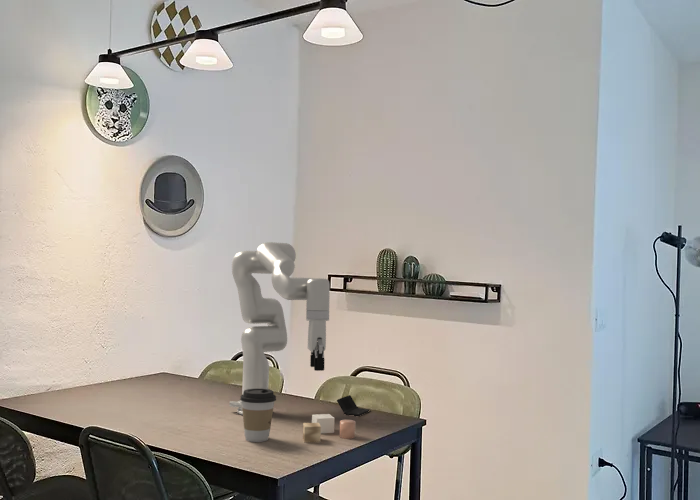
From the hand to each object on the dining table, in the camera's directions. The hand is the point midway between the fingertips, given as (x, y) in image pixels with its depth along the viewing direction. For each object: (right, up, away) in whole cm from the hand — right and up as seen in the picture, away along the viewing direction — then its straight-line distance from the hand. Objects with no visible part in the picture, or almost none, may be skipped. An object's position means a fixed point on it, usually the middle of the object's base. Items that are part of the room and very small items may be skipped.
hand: (317, 368), depth 223 cm
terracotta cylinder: (+10, -22, -3) cm, 24 cm away
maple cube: (-1, -21, -8) cm, 23 cm away
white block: (+2, -22, +4) cm, 22 cm away
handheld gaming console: (+12, -23, +34) cm, 43 cm away
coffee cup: (-18, -21, -9) cm, 29 cm away
